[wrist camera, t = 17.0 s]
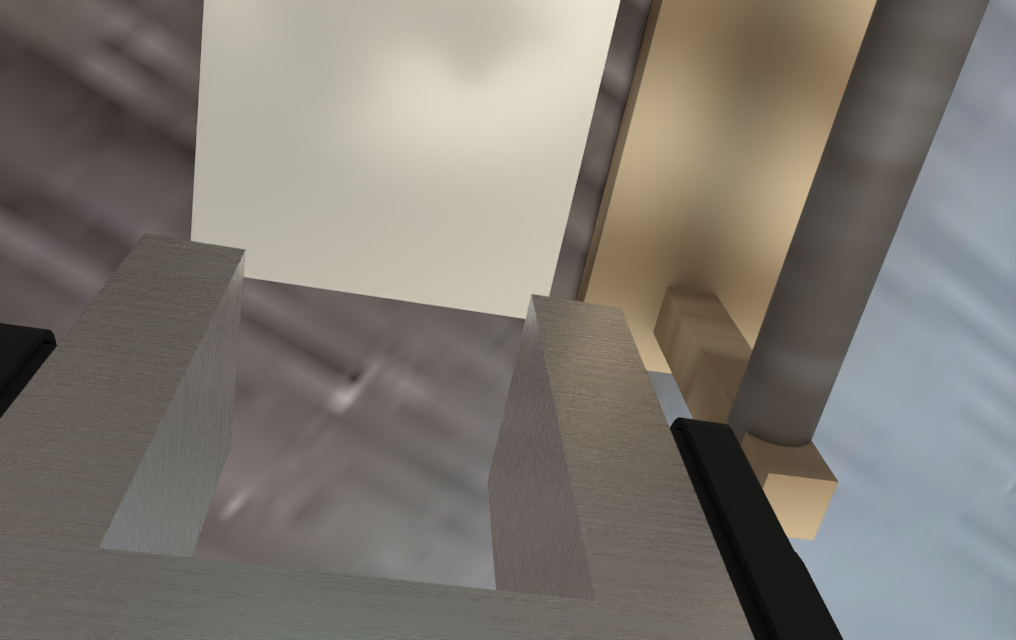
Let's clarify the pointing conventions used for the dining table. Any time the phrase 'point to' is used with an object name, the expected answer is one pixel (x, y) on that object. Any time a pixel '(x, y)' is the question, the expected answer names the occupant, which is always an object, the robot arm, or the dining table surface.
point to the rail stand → (768, 204)
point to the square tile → (397, 142)
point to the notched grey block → (323, 595)
